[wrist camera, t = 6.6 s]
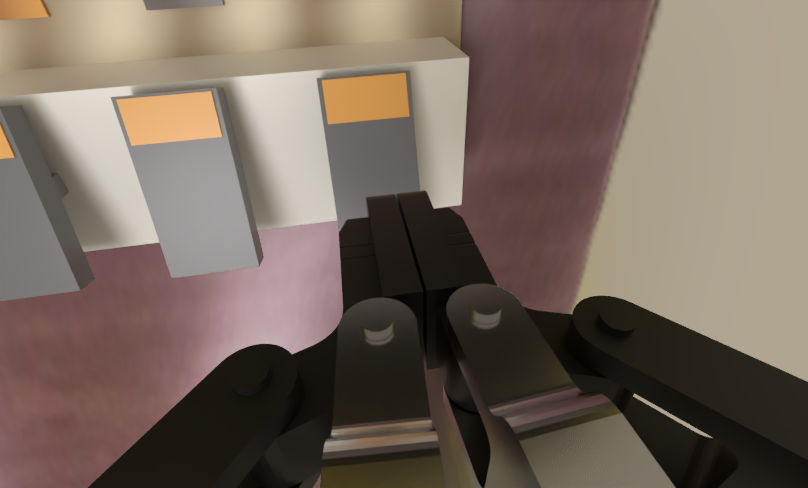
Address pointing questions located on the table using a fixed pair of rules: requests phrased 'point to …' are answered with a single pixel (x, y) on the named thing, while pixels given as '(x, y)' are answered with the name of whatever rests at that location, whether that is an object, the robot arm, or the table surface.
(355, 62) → the switch box
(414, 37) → the chart board
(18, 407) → the table surface
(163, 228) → the switch middle
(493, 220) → the table surface
